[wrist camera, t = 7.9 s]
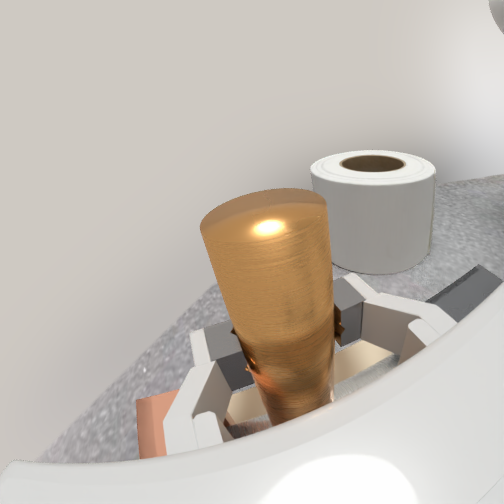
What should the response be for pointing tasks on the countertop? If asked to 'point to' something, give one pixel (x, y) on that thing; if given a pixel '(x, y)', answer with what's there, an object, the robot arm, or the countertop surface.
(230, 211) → the tube
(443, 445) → the robot arm
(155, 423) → the socket
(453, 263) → the countertop surface
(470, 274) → the sleeve
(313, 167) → the toilet paper roll
